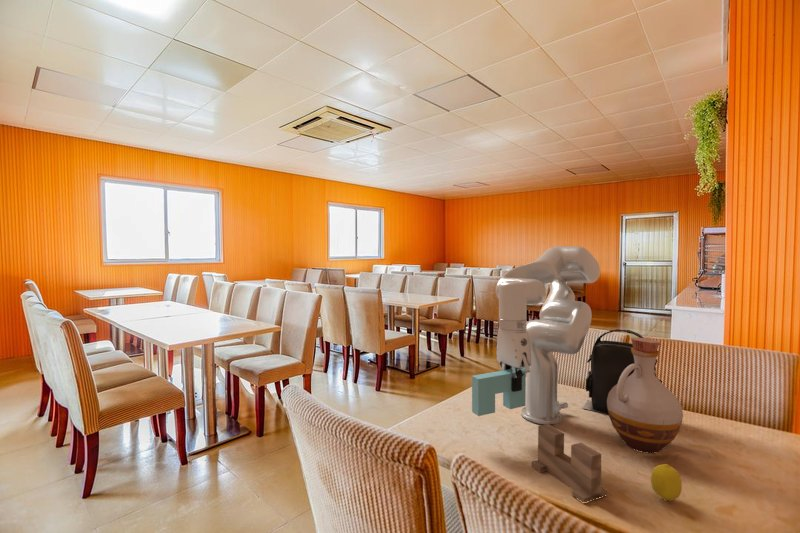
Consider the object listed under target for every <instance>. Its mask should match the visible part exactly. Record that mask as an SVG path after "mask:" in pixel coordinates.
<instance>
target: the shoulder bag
mask: <svg viewBox="0 0 800 533" xmlns="http://www.w3.org/2000/svg"><path fill="white" fill-rule="evenodd" d="M614 332H615V333H617V332H619V333H621V332H622V333H623V332H624V333H628V334H632V335H634V336H635V337H637V338H645V337H644V336H643V335H641V334H640V333H638V332H635V331H633V330H631V329H620V328H616V329H610V330H609V331H606V332H604V333H602V334H601V335H600V336H598V338H597V339H596V340H595V342H594V344H593V346H592V348H591V349H592V350H591V353H590V355H589V358H588V359H587V361H586V364H587V363H590V370H589V371H588V372H587V374H588V375H587V377H586V378H585V391H586V392H588V398H591V399H590V400H589V399H587V400H586V402H585V403H584V405H583V406H582V409H584V410H588V411H591V412H592V411H593V412H597V413H601V414H605V415H609V413H608V408H607V398H608V394H609V392H610V390H611V389H612V388H613V387H614V386H615V385H617V384H618V381H619V378H620V376H621V374H622V372H623V371H624V370H625V368H626V367H628V366H629V365H631V364H635V362H634V356H633V353H632V351H631V348H633V345H632V343H630V342H624V341H623V342H621V341H614V340H601V339H602V338H603V337H604V336H606V335H608V334H611V333H614ZM657 363H658V359H657V358H656V361H655V366H654V374H655V376H656V377H657V367H656V365H657ZM634 370H635V369H634ZM634 370H632V371H631V372H630V373H629V375H628V376H630V375H631V374H632V373H634ZM628 376H627V377H628ZM659 380H660V382H661V383H662V384H663V380H661V379H659Z"/></svg>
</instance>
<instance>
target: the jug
mask: <svg viewBox="0 0 800 533" xmlns="http://www.w3.org/2000/svg"><path fill="white" fill-rule="evenodd" d="M630 340H631V344H632V345H633V348H631V351H632V353H633V356H634V362H635V364H631V365H629V366H628V367H626V368H625V370H624V371H623V372H622V374H621V376H620V378H619V381H618V384H617V385H615V386H614V387H613V388H612V389H611V390H610V392H609V394H608V398H607V408H608V413H609V414H608V415H609V416H608V417H609V419H610V423H611V424H612V427H613V429H614V430H615V432H616V433H617V435H618V436H619V438H621V440H622V441H623V442H624V443H625V445H626V446H628V448H630V449H632V450H634V449H635V450H634V451H636V450H638V451H637V452H639V451H642V452H641V453H643V452H648V453H647V454H655V453H654V452H657V453H659V452H660V451H662V450H663V449H665V448H666V447H667V446H668V445H670V444H671V443H672V442H673V441H674V440H675V439H676V437H677V435H678V433H679V431H680V430H681V429H680V428H681V426H682V422H683V419H684V418H683V417H684V411H683V407H682V404H681V402H680V401H679V399H678V397H677V396H676V395H675V394H674V393H673V392H672V391H671V390H670V389H669V388H668V387H666V386H665V385H664V384H663V382H662V383H661V382H660V380H661V379H659V377H657V375H656V376H655V374H654V372H655V370H654V366H655V367H656V365H655V362H656V359H657V357H659V355H660V351H659V350H658V348H659V347H660V344H661V341H659V340H656V339H651V338H645V337H644V338H639V337H636V336H635V337H631V338H630ZM634 369H635V370H634ZM632 370H634V373H632V374H631V375H630V376H628V375H629V373H630V372H631V371H632ZM627 376H628V377H627Z"/></svg>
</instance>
